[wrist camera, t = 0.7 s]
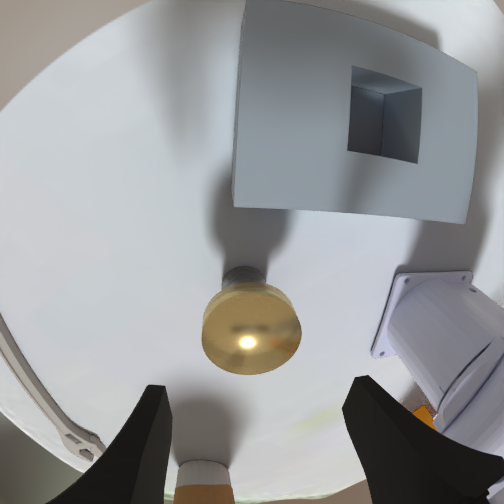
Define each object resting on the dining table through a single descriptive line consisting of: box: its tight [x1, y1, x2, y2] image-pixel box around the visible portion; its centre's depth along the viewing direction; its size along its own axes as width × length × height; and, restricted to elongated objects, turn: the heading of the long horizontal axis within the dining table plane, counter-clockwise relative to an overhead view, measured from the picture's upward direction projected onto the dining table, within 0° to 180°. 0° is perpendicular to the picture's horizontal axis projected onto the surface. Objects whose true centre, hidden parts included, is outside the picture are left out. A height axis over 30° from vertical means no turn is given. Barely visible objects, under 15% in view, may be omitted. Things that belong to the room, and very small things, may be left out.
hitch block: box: [231, 0, 478, 225], centre depth 13 cm, size 14×10×4 cm
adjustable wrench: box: [0, 315, 107, 462], centre depth 21 cm, size 25×6×2 cm, turn 4°
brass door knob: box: [202, 266, 302, 375], centre depth 16 cm, size 5×5×6 cm
